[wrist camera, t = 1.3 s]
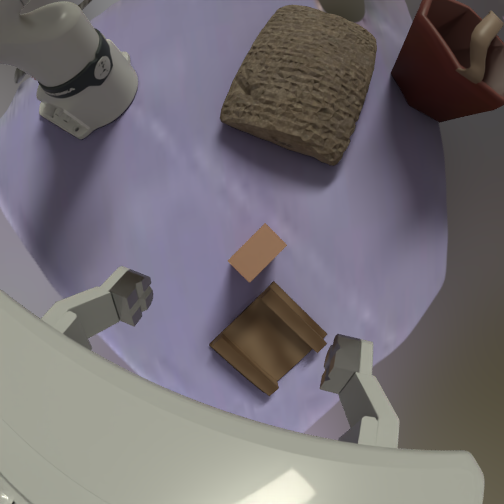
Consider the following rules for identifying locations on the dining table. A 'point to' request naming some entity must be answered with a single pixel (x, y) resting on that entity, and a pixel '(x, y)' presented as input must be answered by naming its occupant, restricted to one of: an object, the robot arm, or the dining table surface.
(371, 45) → the stone tablet
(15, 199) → the dining table surface
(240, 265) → the clay block
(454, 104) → the bucket
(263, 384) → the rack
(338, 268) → the dining table surface
